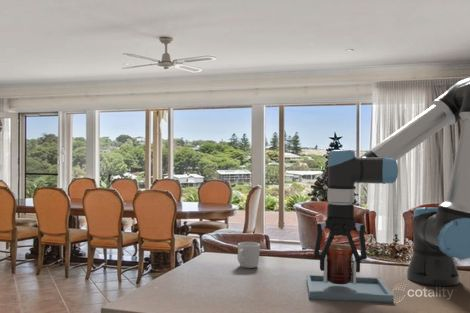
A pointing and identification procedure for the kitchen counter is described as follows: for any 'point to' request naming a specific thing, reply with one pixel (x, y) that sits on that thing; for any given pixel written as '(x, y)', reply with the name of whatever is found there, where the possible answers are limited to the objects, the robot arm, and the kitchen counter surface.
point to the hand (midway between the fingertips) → (339, 282)
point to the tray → (349, 290)
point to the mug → (339, 264)
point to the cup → (248, 254)
